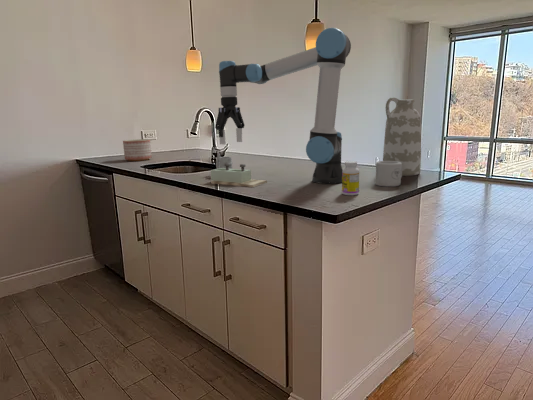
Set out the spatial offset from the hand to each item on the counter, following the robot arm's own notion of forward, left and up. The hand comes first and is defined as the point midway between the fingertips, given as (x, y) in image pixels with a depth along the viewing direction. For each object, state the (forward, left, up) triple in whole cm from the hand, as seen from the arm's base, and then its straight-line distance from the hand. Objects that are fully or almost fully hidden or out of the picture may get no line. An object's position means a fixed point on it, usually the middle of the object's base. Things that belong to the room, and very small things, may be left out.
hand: (231, 143), depth 185 cm
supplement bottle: (-60, +3, -19) cm, 63 cm away
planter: (+123, -51, -19) cm, 135 cm away
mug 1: (+17, -16, -19) cm, 30 cm away
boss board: (-4, 0, -19) cm, 19 cm away
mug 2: (-69, -24, -19) cm, 75 cm away
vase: (-66, -56, -19) cm, 88 cm away
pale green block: (+1, 0, -18) cm, 18 cm away
